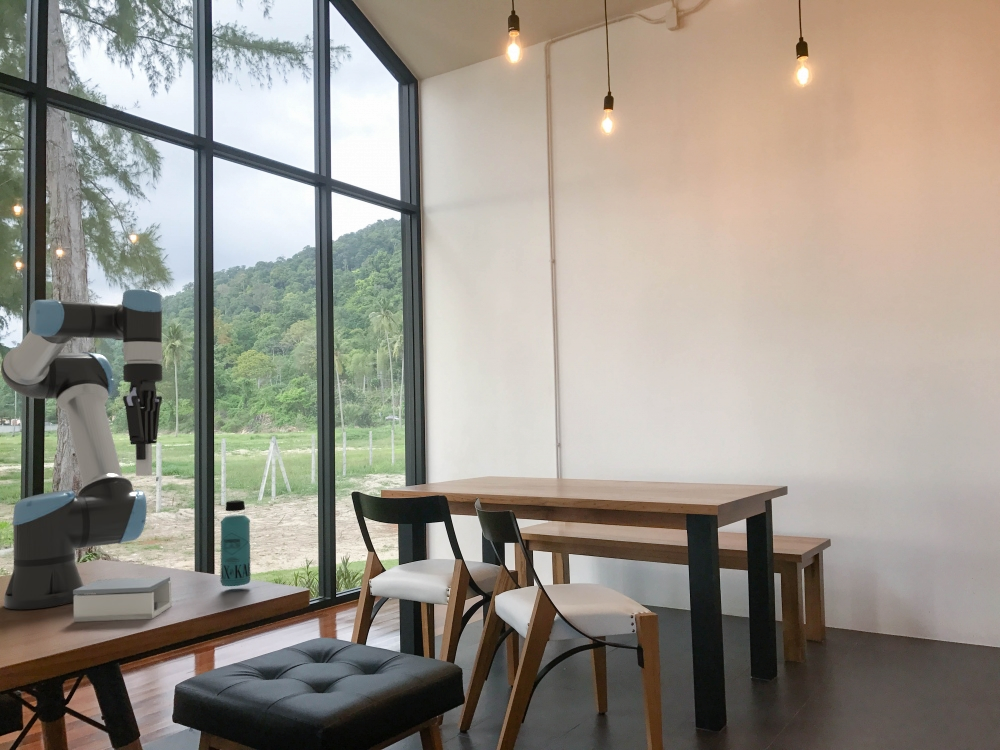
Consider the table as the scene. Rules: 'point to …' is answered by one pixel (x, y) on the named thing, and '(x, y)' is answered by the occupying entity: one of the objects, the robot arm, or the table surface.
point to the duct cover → (122, 585)
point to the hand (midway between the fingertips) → (144, 475)
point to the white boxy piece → (122, 605)
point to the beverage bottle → (235, 547)
